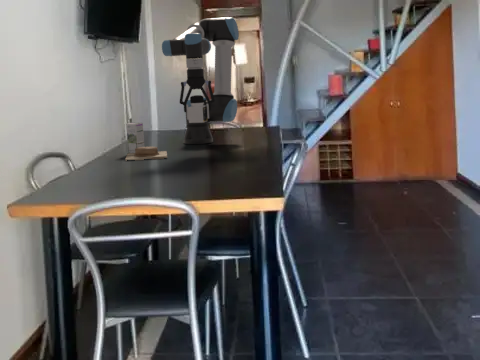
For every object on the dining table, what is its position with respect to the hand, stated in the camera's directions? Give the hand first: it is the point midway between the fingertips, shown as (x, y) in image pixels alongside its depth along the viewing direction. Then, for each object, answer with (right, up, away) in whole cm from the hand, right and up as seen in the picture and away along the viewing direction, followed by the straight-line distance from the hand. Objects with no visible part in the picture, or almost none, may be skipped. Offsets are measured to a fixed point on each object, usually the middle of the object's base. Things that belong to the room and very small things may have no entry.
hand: (198, 118), depth 281 cm
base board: (-23, -18, -4) cm, 29 cm away
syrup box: (-30, -16, +9) cm, 35 cm away
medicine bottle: (0, -2, 0) cm, 2 cm away
